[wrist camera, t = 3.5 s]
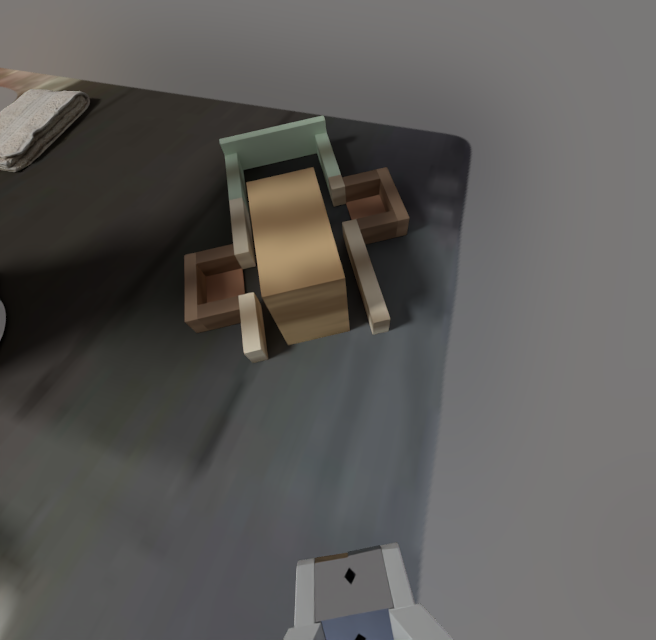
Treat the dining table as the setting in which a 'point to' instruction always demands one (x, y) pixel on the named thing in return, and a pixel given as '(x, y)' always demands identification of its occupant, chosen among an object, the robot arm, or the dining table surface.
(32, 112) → the washcloth
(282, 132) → the end wall
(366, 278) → the lane
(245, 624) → the dining table surface
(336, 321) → the block
